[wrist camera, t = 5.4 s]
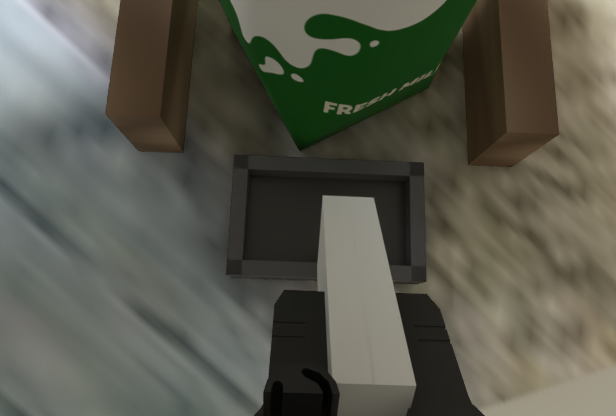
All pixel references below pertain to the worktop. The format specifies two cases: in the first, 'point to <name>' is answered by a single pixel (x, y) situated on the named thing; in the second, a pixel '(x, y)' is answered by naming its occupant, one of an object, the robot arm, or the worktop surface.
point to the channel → (477, 68)
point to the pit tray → (307, 213)
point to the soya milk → (343, 55)
